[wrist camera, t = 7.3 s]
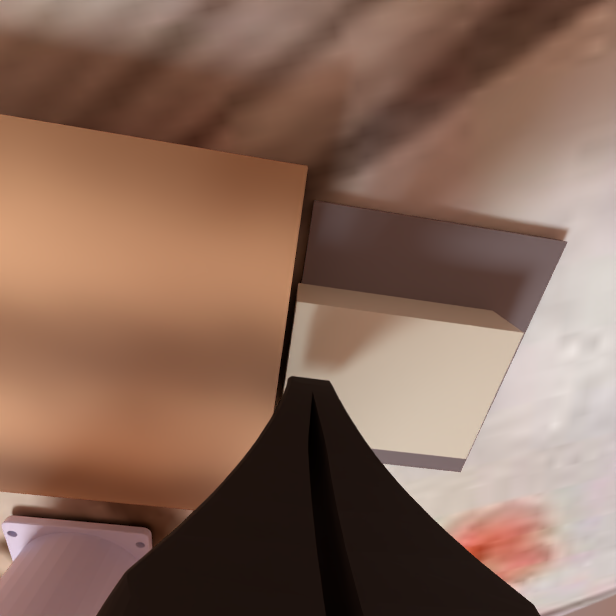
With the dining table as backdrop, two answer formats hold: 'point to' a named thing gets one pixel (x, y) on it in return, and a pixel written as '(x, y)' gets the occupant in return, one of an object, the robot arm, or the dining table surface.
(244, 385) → the brown flat box
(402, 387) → the tile
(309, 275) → the mat
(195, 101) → the dining table surface
